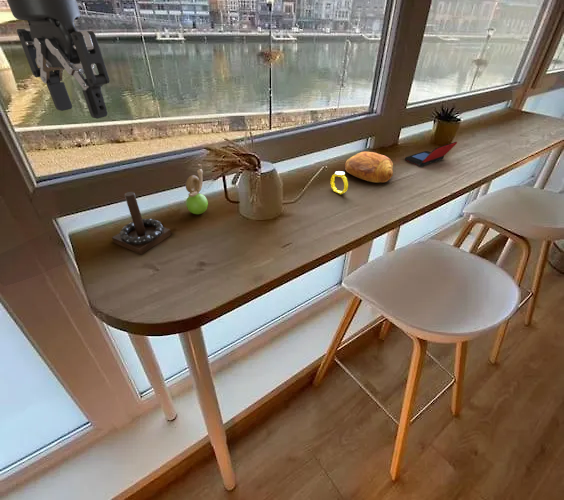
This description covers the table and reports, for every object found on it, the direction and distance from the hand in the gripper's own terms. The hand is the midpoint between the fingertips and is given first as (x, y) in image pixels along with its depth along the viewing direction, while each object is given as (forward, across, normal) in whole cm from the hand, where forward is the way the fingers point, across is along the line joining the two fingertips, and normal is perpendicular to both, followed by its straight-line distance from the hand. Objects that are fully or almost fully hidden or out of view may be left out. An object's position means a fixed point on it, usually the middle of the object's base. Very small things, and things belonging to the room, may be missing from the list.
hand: (82, 113), depth 49 cm
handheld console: (+30, +41, +91) cm, 104 cm away
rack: (+30, -7, +8) cm, 32 cm away
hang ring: (+28, -6, +8) cm, 30 cm away
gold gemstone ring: (+30, +23, +53) cm, 65 cm away
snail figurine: (+30, -4, +24) cm, 39 cm away
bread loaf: (+30, +27, +70) cm, 81 cm away
